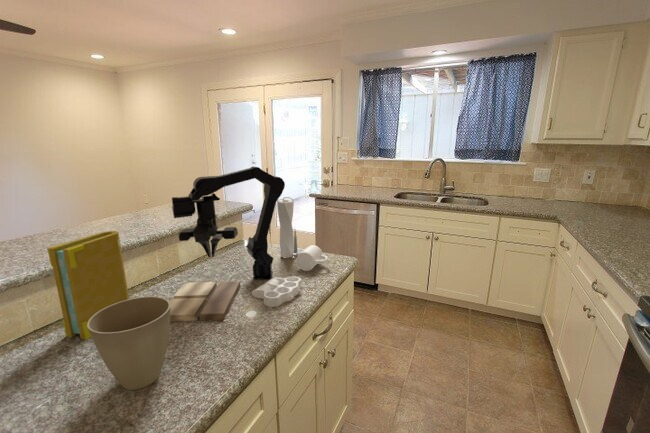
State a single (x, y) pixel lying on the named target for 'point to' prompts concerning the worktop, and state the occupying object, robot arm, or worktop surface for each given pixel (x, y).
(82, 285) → the book
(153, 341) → the plant pot
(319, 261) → the mug
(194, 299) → the oak plank left
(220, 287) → the walnut board
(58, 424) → the worktop surface
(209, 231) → the robot arm
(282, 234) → the skyscraper
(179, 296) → the oak plank right
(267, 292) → the white honeycomb tray
